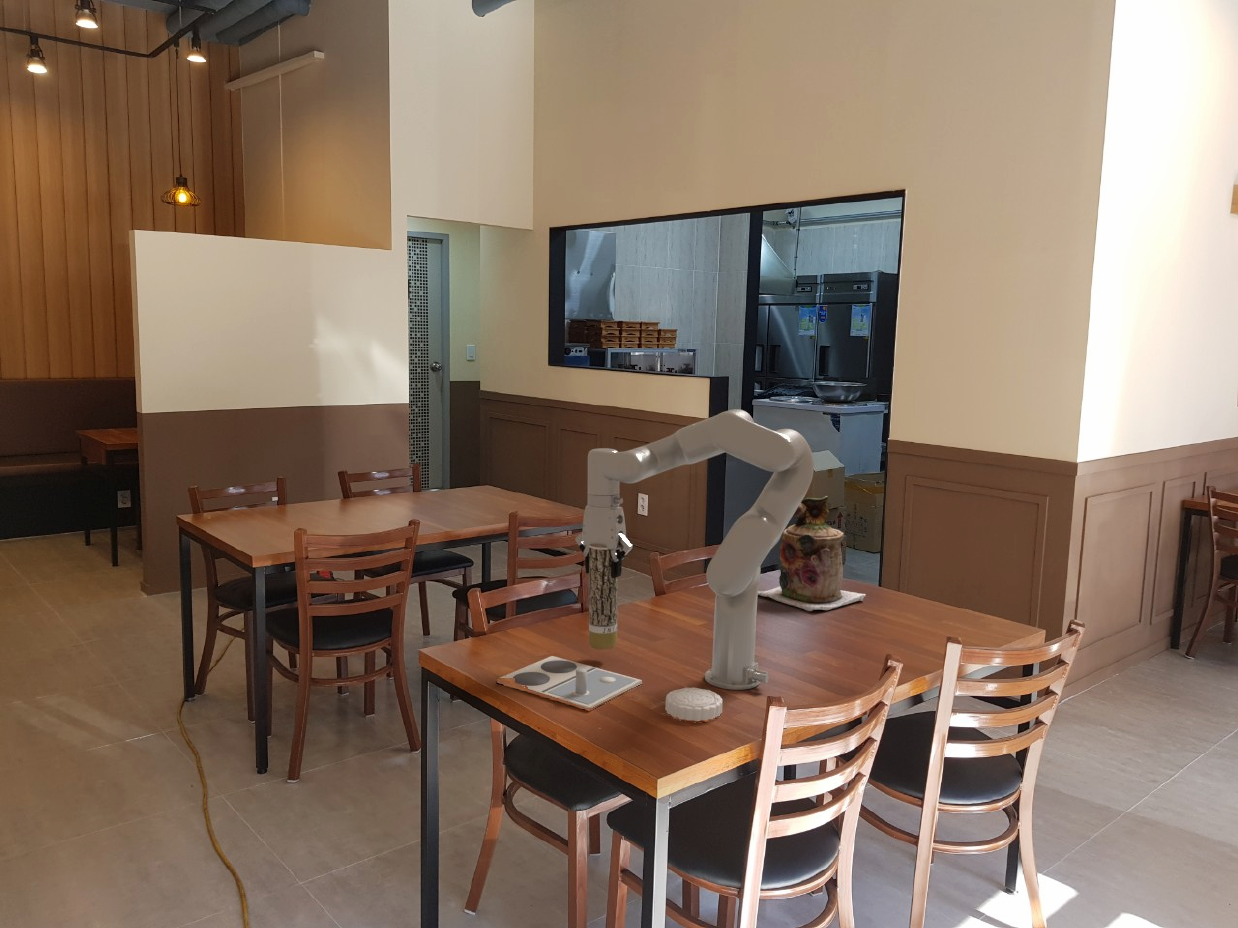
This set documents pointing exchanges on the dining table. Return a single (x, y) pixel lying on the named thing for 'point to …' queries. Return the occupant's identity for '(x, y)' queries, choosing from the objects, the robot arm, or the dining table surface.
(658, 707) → the dining table surface
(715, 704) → the mooncake
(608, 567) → the paper tube
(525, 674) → the board
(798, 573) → the cookie jar
